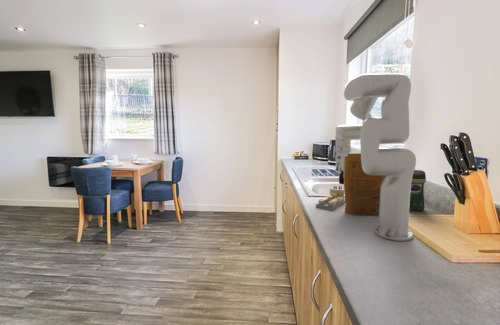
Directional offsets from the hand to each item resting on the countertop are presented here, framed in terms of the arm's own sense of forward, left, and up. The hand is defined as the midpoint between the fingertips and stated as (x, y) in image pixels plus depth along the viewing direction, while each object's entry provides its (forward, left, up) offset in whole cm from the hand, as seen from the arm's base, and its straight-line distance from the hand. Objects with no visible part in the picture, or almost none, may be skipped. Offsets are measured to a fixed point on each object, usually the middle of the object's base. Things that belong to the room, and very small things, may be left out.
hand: (342, 183), depth 141 cm
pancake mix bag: (-17, -17, -9) cm, 26 cm away
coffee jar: (+4, -32, -9) cm, 33 cm away
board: (-10, +1, -9) cm, 13 cm away
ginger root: (-12, +1, -7) cm, 14 cm away
